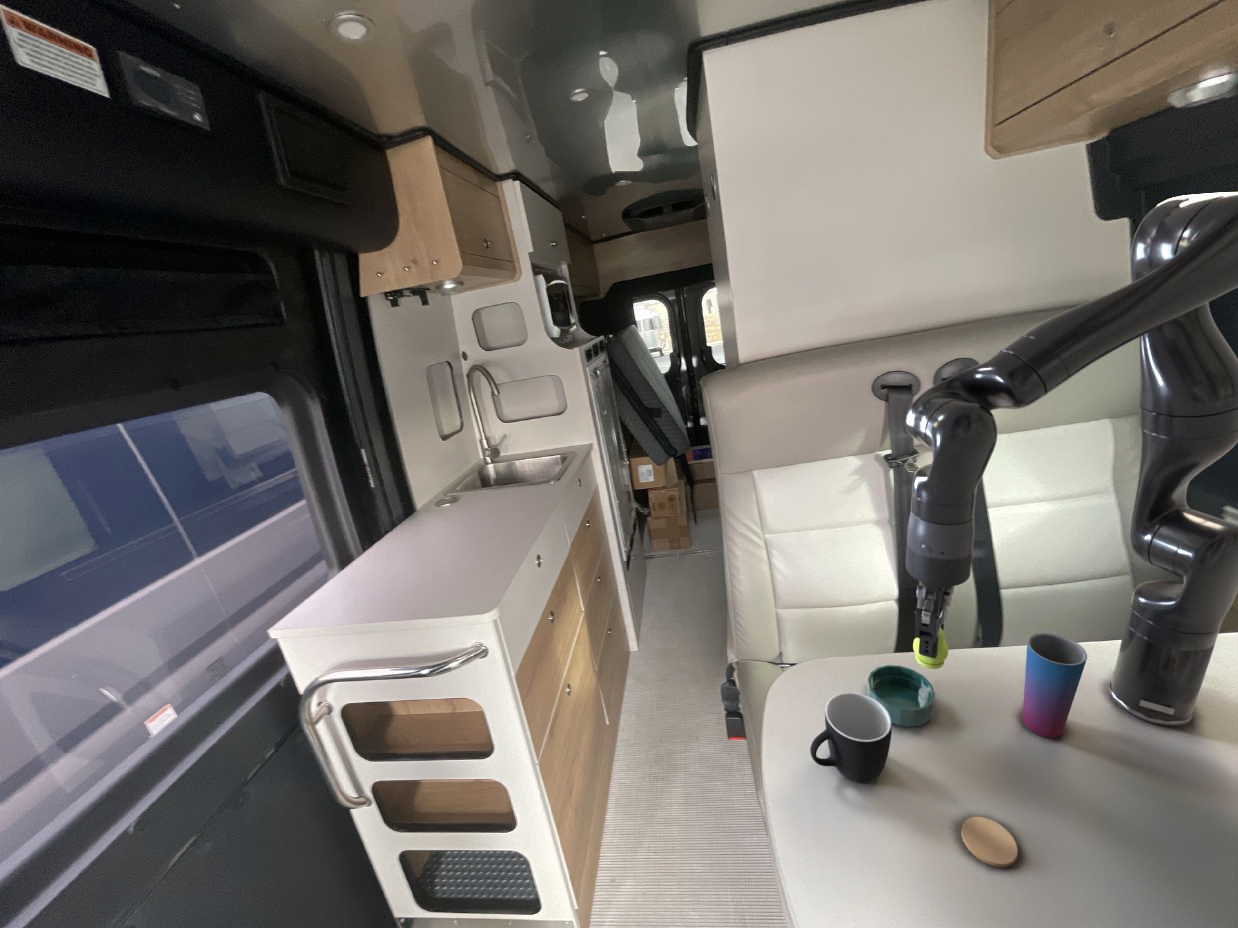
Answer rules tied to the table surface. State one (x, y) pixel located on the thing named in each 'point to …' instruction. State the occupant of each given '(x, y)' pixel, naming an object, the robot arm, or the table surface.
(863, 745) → the mug
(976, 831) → the coaster
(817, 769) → the table surface
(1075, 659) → the cup
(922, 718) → the bowl
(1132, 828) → the table surface
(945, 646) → the pear
